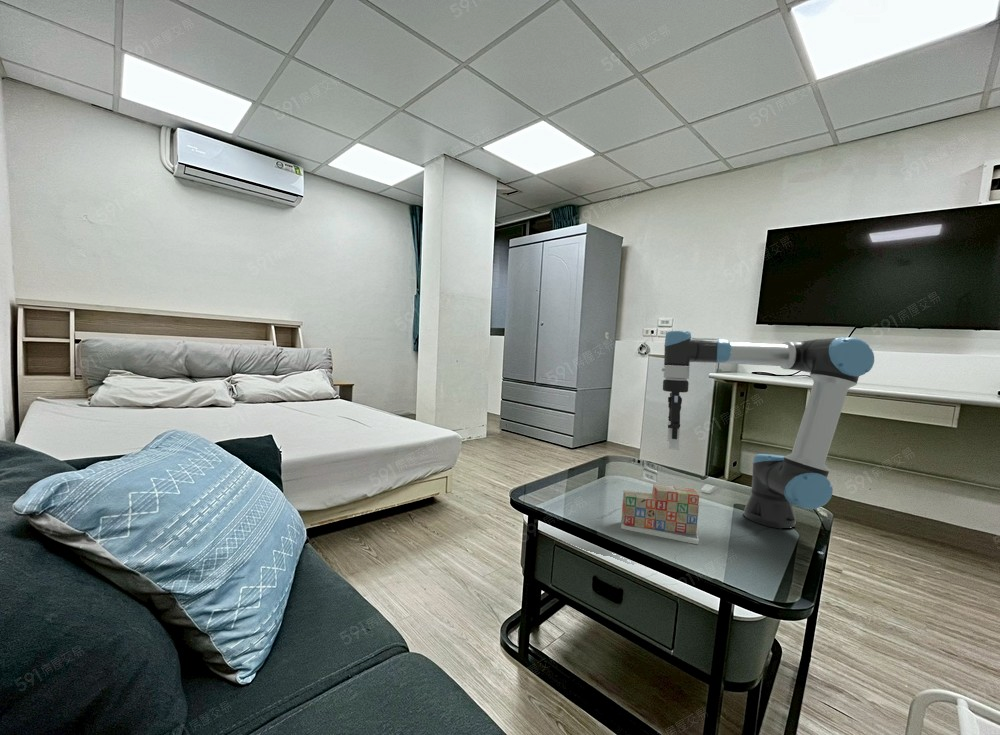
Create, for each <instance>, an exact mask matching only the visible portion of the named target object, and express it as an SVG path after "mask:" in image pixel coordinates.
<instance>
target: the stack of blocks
mask: <svg viewBox="0 0 1000 735" xmlns="http://www.w3.org/2000/svg"><path fill="white" fill-rule="evenodd" d="M651 492H652V493H650V492H643V491H635V490H634V491H632V490H623V493H622V494H623V495H622V496H623V497H622V504H621V505H622V507H621V520H623V523H624V525H630V526H636V527H645V528H651V529H659V530H666V531H673V532H680V533H687V534H694V535H696V533H698V518H699V508H700V505H699V502H700V494H698V492H697V491H696V490H695V489H694V488H685V487H682V486H672V485H671V486H670V485H663V484H662V485H661V484H652V491H651Z"/></svg>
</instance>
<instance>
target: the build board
mask: <svg viewBox="0 0 1000 735" xmlns="http://www.w3.org/2000/svg"><path fill="white" fill-rule="evenodd" d="M621 520H622V519H621ZM620 529H621V530H626V531H631V532H636V533H640V534H646V535H650V536H655V537H659V538H660V537H661V538H665V539H670V540H674V541H679V542H683V543H687V544H694V545H699V542H700V539H699V535H698V534H699V533H698V532H697V533H696V535H694V534H687V533H680V532H673V531H666V530H659V529H651V528H645V527H636V526H630V525H624V523H623V520H622V521H621V523H620Z"/></svg>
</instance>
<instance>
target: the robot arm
mask: <svg viewBox="0 0 1000 735" xmlns="http://www.w3.org/2000/svg"><path fill="white" fill-rule="evenodd" d="M663 358H664V360H663V362H664V363H663V365H664V366H663V368H661V371H662V372H663V378H665V379H663V380H662V390H663V391H664V392H667V393H669V392H670V393H669V396H668V397H667V402H668V405H667V406H668V417H667V418H668V422H667V423H668V424H667V442H668V449H669V450H673V451H674V450H676V451H679V449H680V448H679V446H680V428H681V409H682V404H683V403H682V402H683V398H682V397H681V395H680V393H687V392H689V385H690V384H689V381H688V379H690V363H708V364H709V363H713V364H715V363H716V364H731V365H734V364H735V365H751V366H752V365H753V366H755V365H756V366H769V367H770V366H771V367H773V366H775V367H780V368H781V369H783V370H792V371H799V372H805V373H809V377H810V378H811V380H812V381H813V383H812V386H811V390H810V393H809V397H808V398H807V403H806V406H805V408H804V412H803V415H802V419H801V422H800V425H799V427H798V431H797V435H796V436H795V441H794V444H793V447H792V451H791V453H788V454H787V455H780V454H779V455H778V454H771V453H769V454H768V453H757V454H755V455H754V456H753V461H752V462H753V463H752V478H751V491H750V492H751V493H750V495H749V496H750V497H749V498H748V500H747V502H746V504H745V506H744V510H743V516H744V517H745V518H746V519H747V520H749V521H752V522H753V523H756V524H759V525H762V526H766V527H770V528H774V529H781V530H782V528H790V527H793V526H794V525H795V524H797V518H796V515H795V512H794V509H793V506H797V507H799V508H801V509H804V510H816V509H819V508H820V507H821V508H822V507H823V506H826V504H827V503H829V501H831V499H832V495H833V492H834V489H833V485H832V484H831V481H830V479H828V475H829V473H830V469H829V467H828V466H827V465H826V461H827V457H828V455H829V452H830V448H831V444H832V441H833V438H834V436H835V432H836V429H837V426H838V423H839V420H840V417H841V413H842V410H843V407H844V403H845V401H846V398H847V394H848V391H849V389H851V388H853V387H855V386H857V384H858V381H859V378H860V377H861V376H864V375H866V373H869V372H870V371H871V370H872V368H873V366H874V364H875V354H874V350H873V349H872V348H871V347H870V345H869V343H867V342H866V341H865V340H862V339H860V338H858V337H849V336H848V337H847V336H841V337H840V336H839V337H828V338H817V339H809V340H802V341H800V340H799V341H784V342H782V343H780V344H779V343H762V342H761V343H758V342H754V343H753V342H739V341H737V342H736V341H729V340H728V339H726V338H706V337H704V338H699V337H698V338H696V337H692V333H691V331H688V330H671V331H668V332H666V334H665V340H664V356H663Z"/></svg>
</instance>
